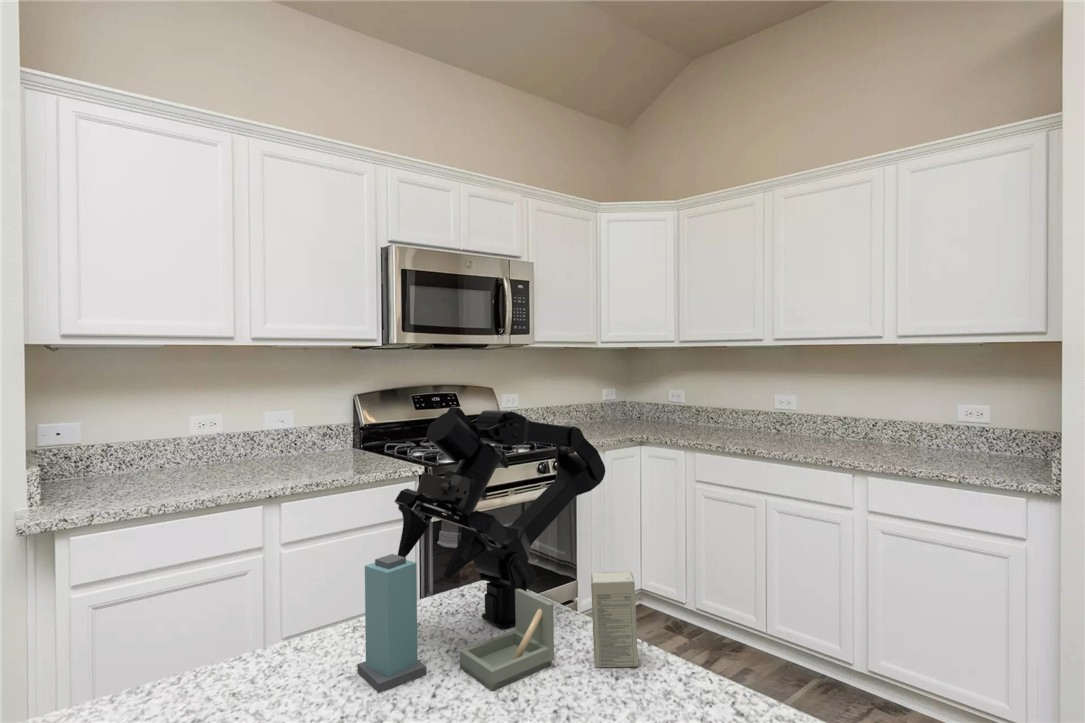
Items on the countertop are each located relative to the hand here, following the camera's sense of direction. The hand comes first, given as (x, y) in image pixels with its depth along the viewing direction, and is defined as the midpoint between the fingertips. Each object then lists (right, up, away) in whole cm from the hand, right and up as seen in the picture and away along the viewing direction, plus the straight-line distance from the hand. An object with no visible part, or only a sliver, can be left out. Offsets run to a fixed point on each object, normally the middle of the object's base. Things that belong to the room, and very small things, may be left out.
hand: (421, 568), depth 88 cm
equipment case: (+13, -13, -3) cm, 18 cm away
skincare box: (+28, -13, -2) cm, 31 cm away
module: (-3, -12, -5) cm, 13 cm away
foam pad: (-3, -13, -5) cm, 14 cm away
